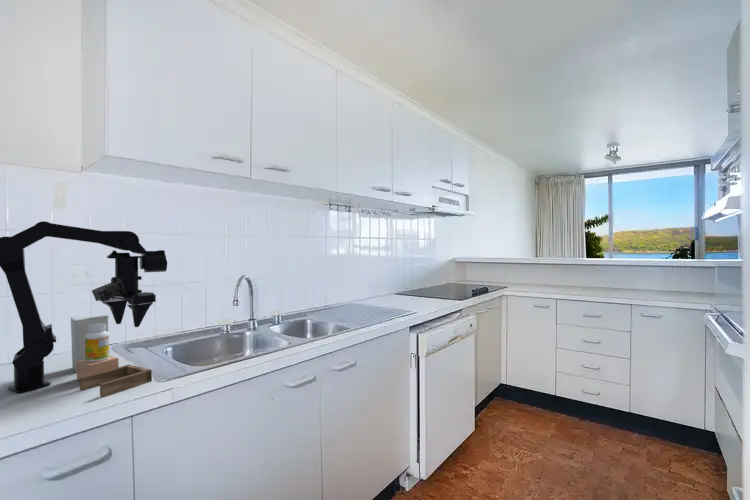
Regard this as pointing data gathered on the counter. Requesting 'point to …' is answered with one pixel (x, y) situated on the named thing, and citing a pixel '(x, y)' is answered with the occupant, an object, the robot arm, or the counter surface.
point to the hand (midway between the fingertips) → (127, 325)
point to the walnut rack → (116, 379)
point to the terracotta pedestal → (95, 366)
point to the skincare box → (83, 334)
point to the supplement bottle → (96, 343)
